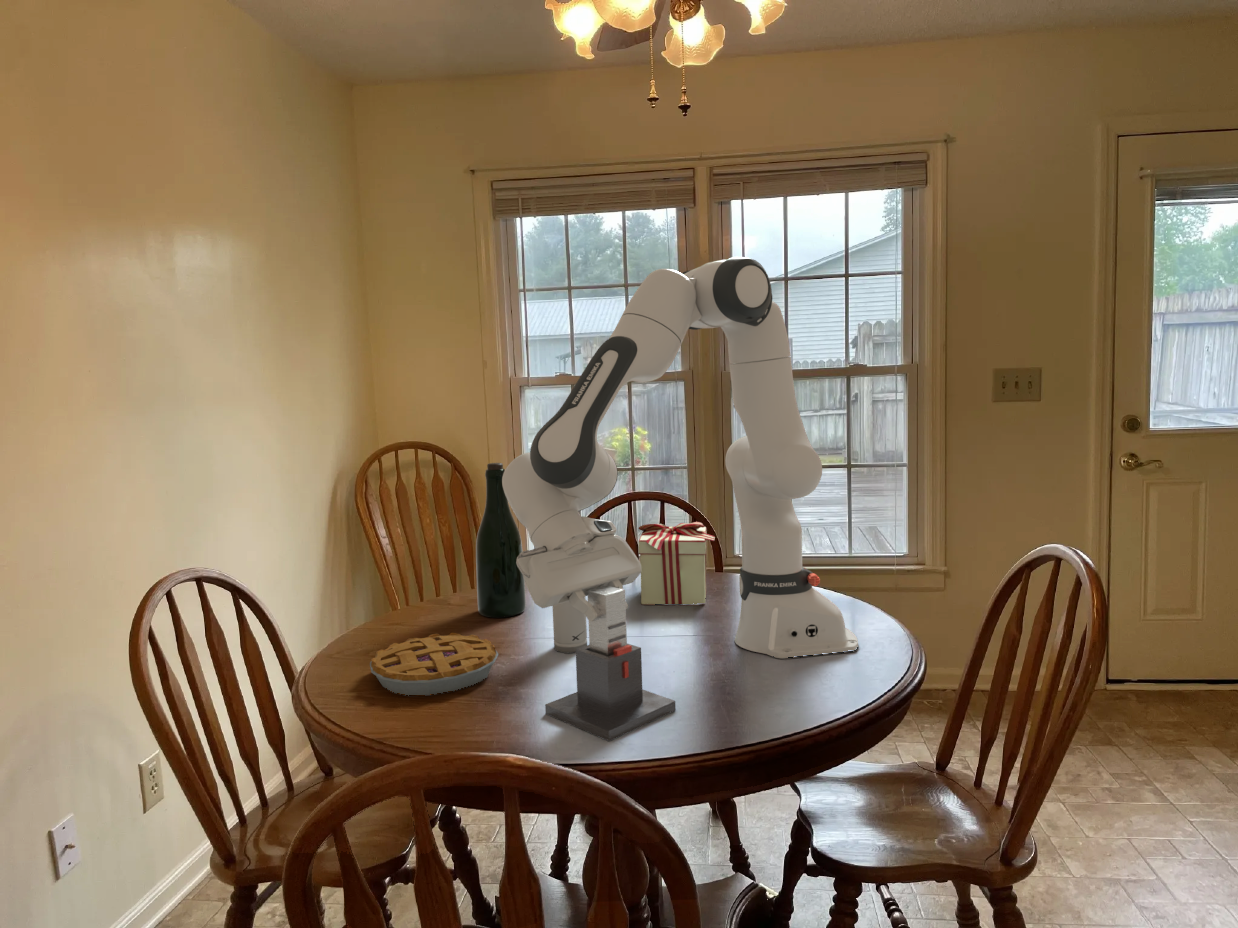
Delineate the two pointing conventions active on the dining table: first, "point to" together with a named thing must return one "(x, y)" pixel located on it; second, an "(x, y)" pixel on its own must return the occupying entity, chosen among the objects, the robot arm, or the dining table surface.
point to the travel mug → (569, 628)
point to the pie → (434, 664)
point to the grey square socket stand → (609, 695)
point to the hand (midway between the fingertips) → (610, 614)
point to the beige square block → (608, 620)
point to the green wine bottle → (498, 553)
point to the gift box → (673, 563)
